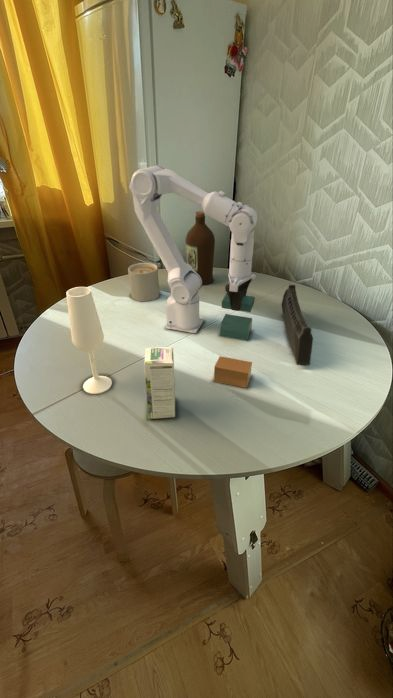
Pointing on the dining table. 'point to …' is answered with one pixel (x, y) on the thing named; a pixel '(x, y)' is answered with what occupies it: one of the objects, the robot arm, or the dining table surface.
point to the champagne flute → (87, 333)
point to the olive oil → (201, 248)
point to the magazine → (296, 328)
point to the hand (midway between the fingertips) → (237, 305)
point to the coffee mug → (144, 281)
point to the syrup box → (160, 382)
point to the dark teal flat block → (245, 305)
